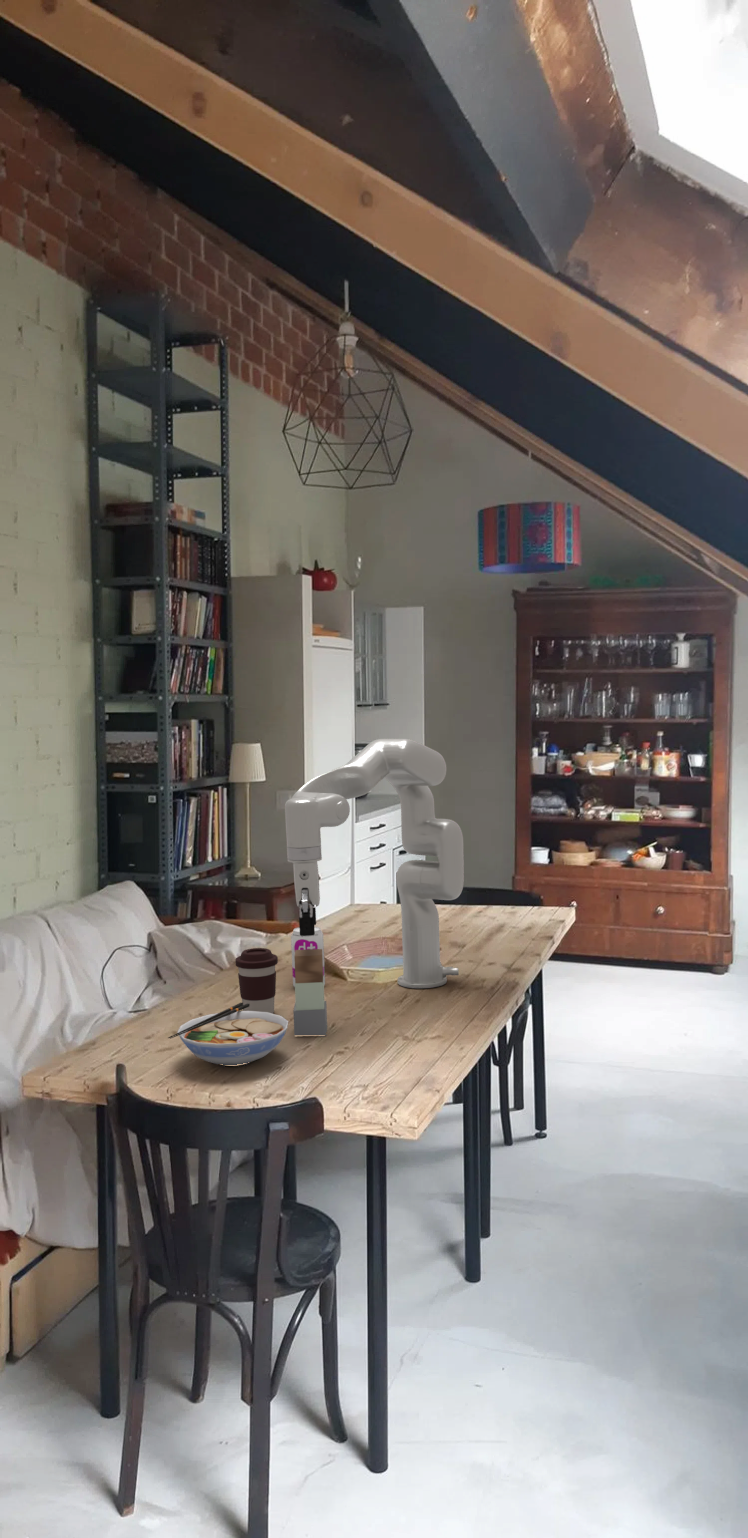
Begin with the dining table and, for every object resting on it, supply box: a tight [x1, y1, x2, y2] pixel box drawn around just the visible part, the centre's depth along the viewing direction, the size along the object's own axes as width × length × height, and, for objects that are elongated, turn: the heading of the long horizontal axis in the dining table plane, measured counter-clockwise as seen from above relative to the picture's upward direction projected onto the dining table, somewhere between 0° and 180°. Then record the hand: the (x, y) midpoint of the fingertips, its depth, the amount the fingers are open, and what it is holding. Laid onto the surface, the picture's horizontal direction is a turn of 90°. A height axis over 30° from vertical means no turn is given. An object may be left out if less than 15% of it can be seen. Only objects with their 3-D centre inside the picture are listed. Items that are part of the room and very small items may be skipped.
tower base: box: [292, 1000, 328, 1036], centre depth 250 cm, size 7×7×6 cm
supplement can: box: [290, 926, 326, 988], centre depth 288 cm, size 8×8×15 cm
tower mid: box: [294, 976, 325, 1010], centre depth 250 cm, size 6×6×6 cm
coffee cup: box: [235, 947, 279, 1014], centre depth 266 cm, size 10×10×15 cm
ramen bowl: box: [167, 1002, 289, 1065], centre depth 232 cm, size 25×23×8 cm
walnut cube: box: [294, 949, 323, 983], centre depth 249 cm, size 6×6×6 cm
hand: (308, 930), depth 249 cm, fingers open, 9 cm apart
